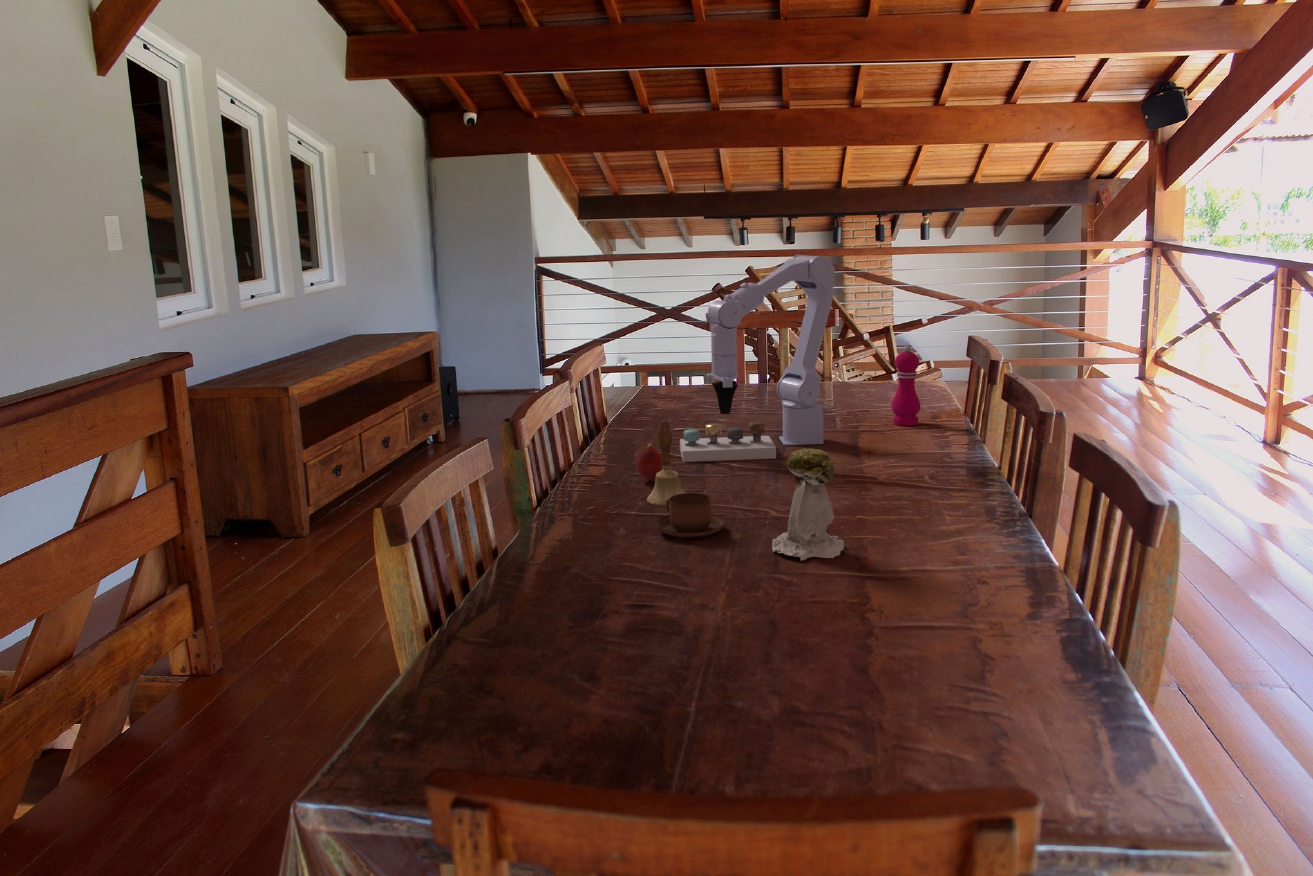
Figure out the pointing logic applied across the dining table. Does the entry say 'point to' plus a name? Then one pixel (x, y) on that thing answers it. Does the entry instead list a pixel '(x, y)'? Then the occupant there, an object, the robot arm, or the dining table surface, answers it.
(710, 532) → the cup and saucer
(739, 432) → the dark grey rounded knob
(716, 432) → the brass dome cap
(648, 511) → the dining table surface
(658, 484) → the hand bell
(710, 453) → the console
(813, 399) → the robot arm
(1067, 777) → the dining table surface
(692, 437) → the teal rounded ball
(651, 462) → the onion
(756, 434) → the walnut key
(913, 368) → the pepper mill
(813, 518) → the moss topped figurine
